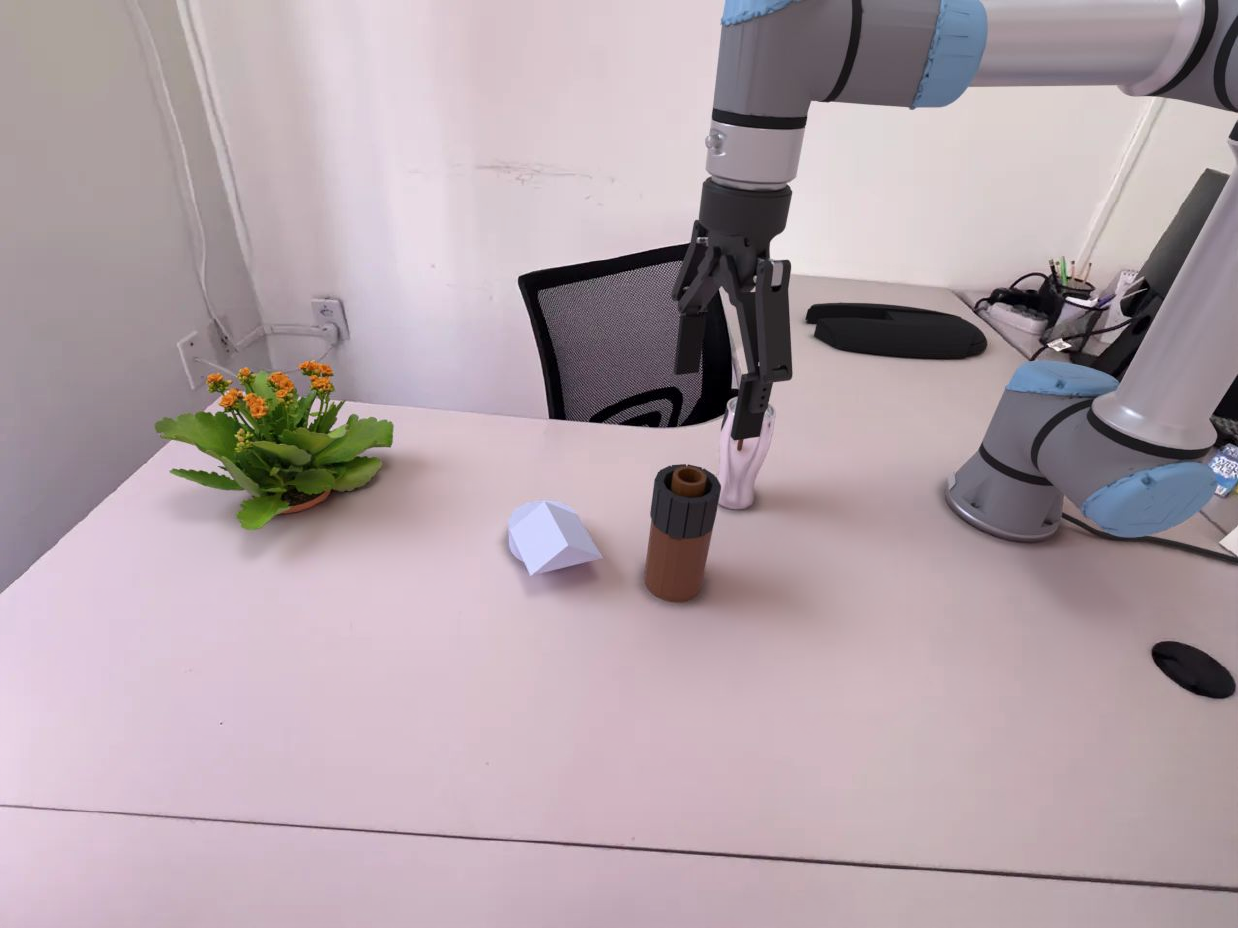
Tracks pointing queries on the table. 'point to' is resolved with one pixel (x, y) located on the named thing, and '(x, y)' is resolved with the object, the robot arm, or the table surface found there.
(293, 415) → the potted flower
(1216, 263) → the robot arm
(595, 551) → the wedge on round base
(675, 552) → the brown bottle
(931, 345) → the black flat oval pad
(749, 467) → the beer glass
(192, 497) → the table surface
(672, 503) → the rubber collar
